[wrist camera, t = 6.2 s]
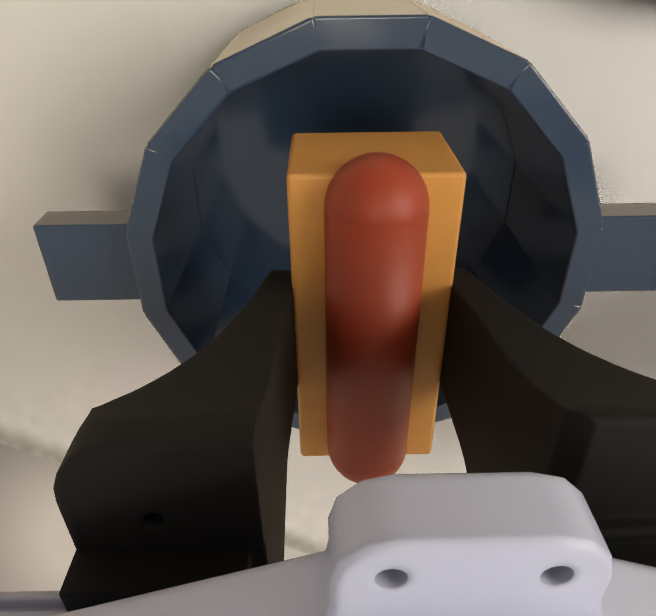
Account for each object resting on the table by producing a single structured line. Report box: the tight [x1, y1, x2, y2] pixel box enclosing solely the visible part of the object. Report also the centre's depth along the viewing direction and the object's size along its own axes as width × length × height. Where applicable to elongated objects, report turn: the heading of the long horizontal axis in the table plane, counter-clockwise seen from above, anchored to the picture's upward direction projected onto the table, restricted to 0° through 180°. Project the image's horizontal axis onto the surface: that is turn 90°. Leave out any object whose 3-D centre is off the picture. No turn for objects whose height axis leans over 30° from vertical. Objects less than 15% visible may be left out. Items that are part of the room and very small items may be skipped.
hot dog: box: [286, 131, 466, 483], centre depth 13 cm, size 8×3×4 cm, turn 1°
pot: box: [33, 0, 656, 429], centre depth 18 cm, size 12×18×6 cm
